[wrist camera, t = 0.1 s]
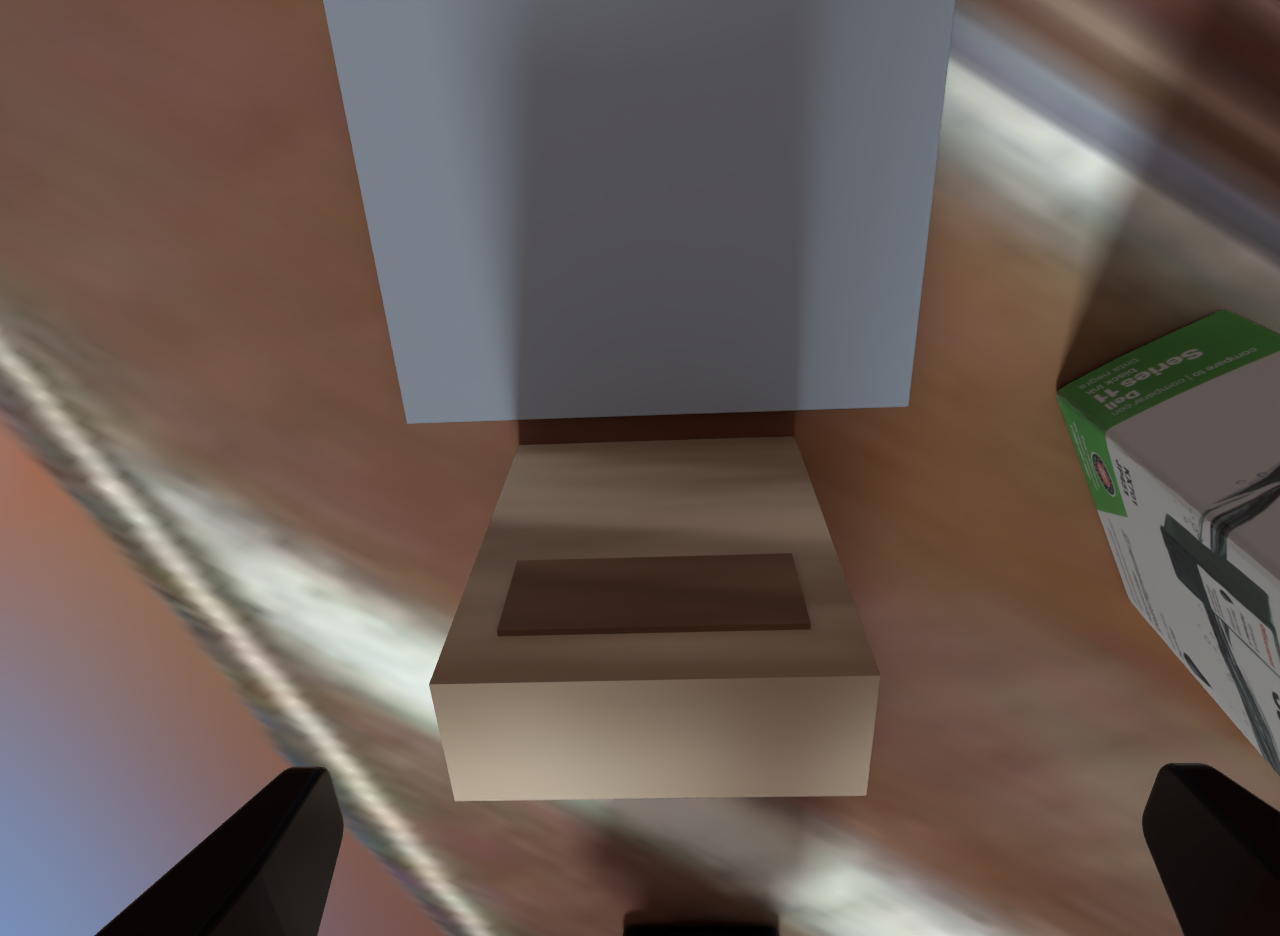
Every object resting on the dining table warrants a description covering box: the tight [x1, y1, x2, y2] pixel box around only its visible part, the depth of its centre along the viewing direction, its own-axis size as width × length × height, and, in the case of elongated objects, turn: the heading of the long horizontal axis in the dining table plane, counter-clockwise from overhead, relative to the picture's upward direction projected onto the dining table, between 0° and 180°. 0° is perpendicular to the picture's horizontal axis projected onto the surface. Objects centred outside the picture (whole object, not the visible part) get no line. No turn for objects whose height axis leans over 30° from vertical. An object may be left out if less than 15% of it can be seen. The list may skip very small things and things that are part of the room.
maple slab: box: [429, 436, 880, 801], centre depth 19 cm, size 3×8×10 cm, turn 93°
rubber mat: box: [323, 0, 955, 423], centre depth 19 cm, size 12×14×1 cm
